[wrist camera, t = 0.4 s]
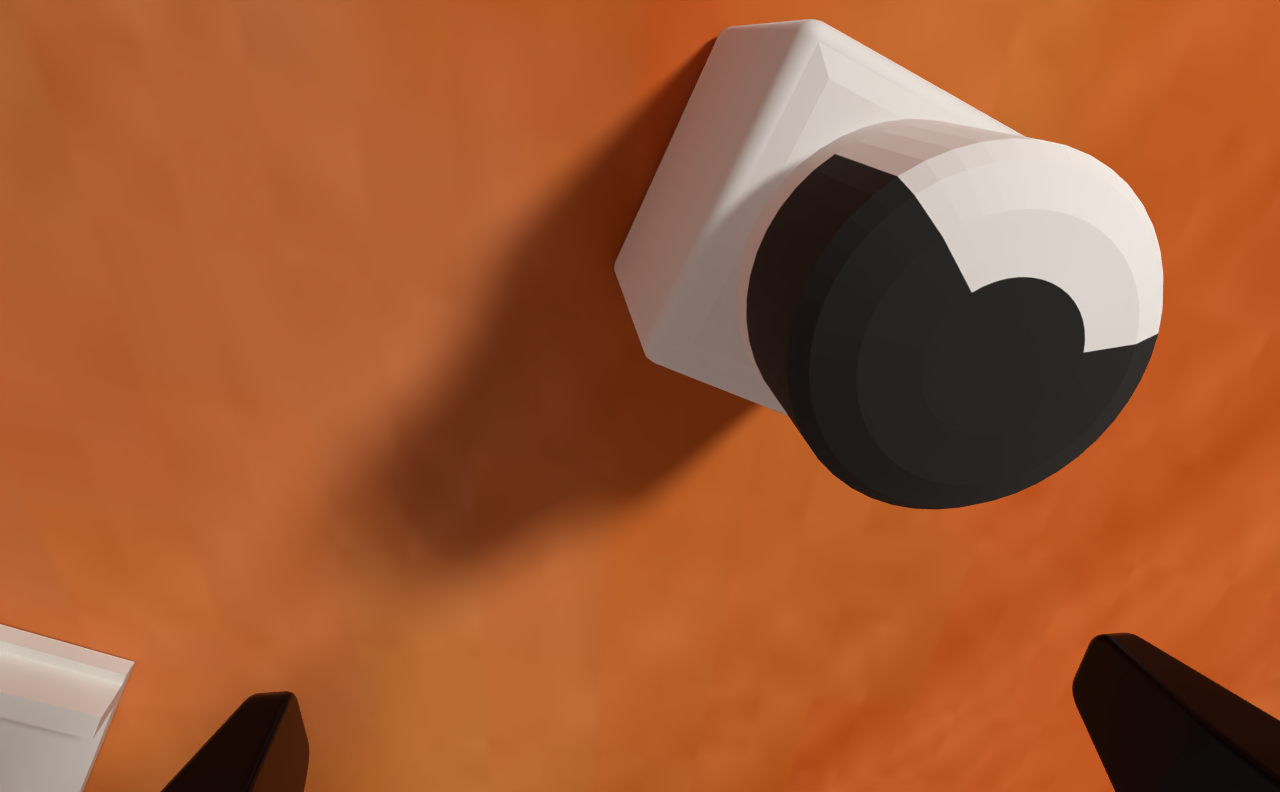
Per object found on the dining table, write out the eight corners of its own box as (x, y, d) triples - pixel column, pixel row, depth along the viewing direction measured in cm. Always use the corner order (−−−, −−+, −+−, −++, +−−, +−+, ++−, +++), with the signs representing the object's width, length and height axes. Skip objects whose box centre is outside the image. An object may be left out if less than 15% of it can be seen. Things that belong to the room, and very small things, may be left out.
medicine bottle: (816, 358, 24) (1044, 610, 14) (608, 270, 22) (679, 483, 12) (941, 141, 22) (1336, 233, 11) (721, 22, 20) (943, -6, 9)
